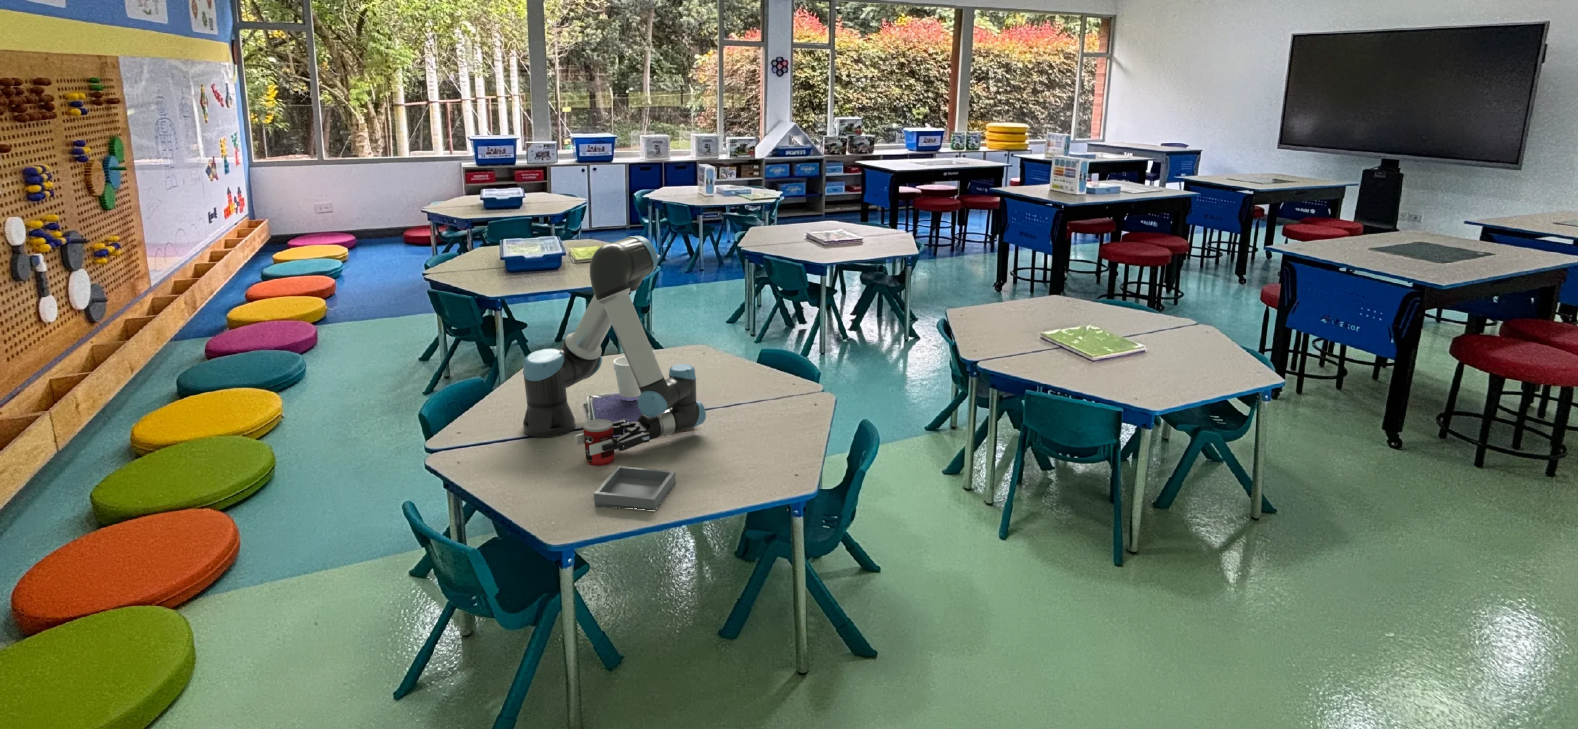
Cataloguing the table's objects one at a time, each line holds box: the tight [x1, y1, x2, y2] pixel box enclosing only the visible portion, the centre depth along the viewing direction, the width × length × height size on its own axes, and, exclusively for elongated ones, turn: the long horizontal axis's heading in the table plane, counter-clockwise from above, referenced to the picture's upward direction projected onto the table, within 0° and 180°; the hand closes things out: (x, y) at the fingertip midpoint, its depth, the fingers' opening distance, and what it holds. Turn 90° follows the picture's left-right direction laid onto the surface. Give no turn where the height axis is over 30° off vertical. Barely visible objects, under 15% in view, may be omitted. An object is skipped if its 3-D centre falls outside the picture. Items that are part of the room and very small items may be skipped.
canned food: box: [582, 418, 616, 467], centre depth 254 cm, size 8×8×11 cm
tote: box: [593, 465, 677, 511], centre depth 236 cm, size 16×16×4 cm
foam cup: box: [612, 355, 641, 397], centre depth 298 cm, size 10×9×13 cm
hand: (583, 445), depth 251 cm, fingers closed on canned food, 8 cm apart
